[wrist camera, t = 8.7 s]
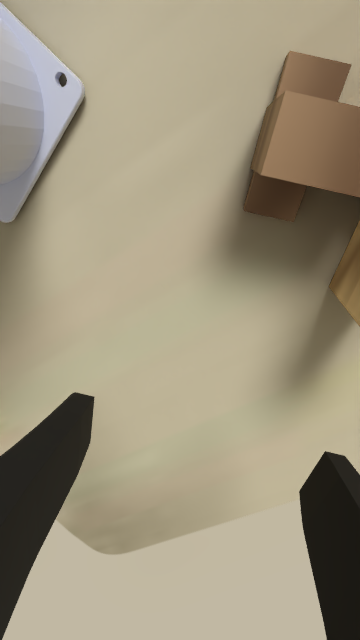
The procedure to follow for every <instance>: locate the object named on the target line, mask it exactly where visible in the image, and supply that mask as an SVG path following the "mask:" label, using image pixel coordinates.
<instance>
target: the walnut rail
mask: <svg viewBox="0 0 360 640" xmlns="http://www.w3.org/2000/svg"><path fill="white" fill-rule="evenodd" d="M350 67H351V64H347V63H342V62H338V61H333V60H329V59H324V58H320V57H315V56H311V55H306V54H302V53H297V52H293V51H290V52H289V53H288V55H287V56H286V59H285V63H284V66H283V70H282V73H281V77H280V80H279V84H278V87H277V91H276V94H275V98H274V102H272V103H271V104H270V105H269V106H268V107H267V109H266V113H265V116H264V120H263V124H262V127H261V131H260V135H259V138H258V142H257V145H256V149H255V153H254V156H253V160H252V163H251V167H250V168H251V169H253V170H254V172H253V176H252V179H251V183H250V186H249V190H248V193H247V197H246V200H245V204H244V207H243V209H244V211H247V212H251V213H256V214H260V215H264V216H269V217H273V218H278V219H282V220H286V221H291V222H294V220H295V217H296V215H297V212H298V209H299V206H300V204H301V201H302V198H303V196H304V193H305V190H306V187H307V186H312V187H316V188H321V189H325V190H329V191H334V192H338V193H343V194H347V195H351V196H356V197H360V107H357V106H353V105H349V104H344V103H340V102H338V100H339V97H340V95H341V92H342V89H343V86H344V84H345V81H346V78H347V75H348V73H349V70H350Z"/></svg>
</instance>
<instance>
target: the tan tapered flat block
mask: <svg viewBox="0 0 360 640" xmlns="http://www.w3.org/2000/svg"><path fill="white" fill-rule="evenodd" d="M329 287H330V289H331V290H332V291H333V293H334V294H335V295H336V297H337V298H338V299H339V300H340V302H341V303H342V304H343V306H344V307H345V308H346V309H347V311H348V312H349V313H350V315H351V316H352V317H353V318H354V320H355V321H356V322H357V324H358V325H359V326H360V220H359V223H358V225H357V227H356V229H355V231H354V233H353V235H352V238H351V240H350V242H349V244H348V246H347V248H346V251H345V253H344V255H343V257H342V259H341V261H340V263H339V266H338V268H337V270H336V272H335V274H334V276H333V279H332V281H331V283H330V285H329Z"/></svg>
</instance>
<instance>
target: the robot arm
mask: <svg viewBox="0 0 360 640" xmlns="http://www.w3.org/2000/svg"><path fill="white" fill-rule="evenodd" d="M62 74H65V75H66V77H67V83H66V85H65V86H64V87H62V86H61V85H60V82H59V78H60V76H61V75H62ZM84 95H85V88H84V85H83V83H82V82H81V80H80V79H79V78H78V77H77V76H76V75H75V74H74V73H73V72H72V71H71V70H70V69H69V68H68V67H67V66H66V65H65V64H64V63H63V62H62V61H61V60H60V59H59V58H57V57H56V56H55V55H54V54H53V53H52V52H51V51H50V50H49V49H48V48H47V47H46V46H45V45H44V44H43V43H42V42H41V41H40V40H39V39H38V38H37V37H36V36H35V35H34V34H33V33H32V32H31V31H30V30H29V29H28V28H27V27H26V26H25V25H24V24H23V23H22V22H21V21H20V20H18V19H17V18H16V17H15V16H14V15H13V14H12V13H11V12H10V11H9V10H8V9H7V8H6V7H5V6H4V5H3V4H2V3H1V2H0V221H2V222H4V223H8V222H11V221H13V220H14V219H15V218H16V216H17V214H18V213H19V211H20V209H21V207H22V206H23V204H24V202H25V200H26V199H27V197H28V195H29V193H30V192H31V190H32V188H33V186H34V185H35V183H36V181H37V179H38V178H39V176H40V174H41V172H42V171H43V169H44V167H45V165H46V163H47V162H48V160H49V158H50V156H51V155H52V153H53V151H54V149H55V148H56V146H57V144H58V142H59V141H60V139H61V137H62V135H63V134H64V132H65V130H66V128H67V127H68V125H69V123H70V121H71V120H72V118H73V116H74V114H75V113H76V111H77V109H78V107H79V106H80V104H81V102H82V100H83V98H84ZM93 406H94V397H93V396H88V395H84V394H80V393H76V392H75V393H73V394H71V395H70V396H69V397H68V398H67V399H66V400H65V401H64V402H63V403H62V404H61V405H60V406H59V407H58V408H56V409H55V410H54V411H53V412H52V413H51V414H50V415H49V416H48V417H47V418H45V419H44V420H43V421H42V422H41V423H40V424H39V425H38V426H36V427H35V428H34V429H33V430H32V431H31V432H29V433H28V434H27V435H26V436H25V437H23V438H22V439H21V440H20V441H19V442H18V443H16V444H15V445H14V446H13V447H11V448H10V449H9V450H8V451H6V452H5V453H4V454H2V455H1V456H0V640H2V638H3V635H4V633H5V630H6V628H7V626H8V623H9V621H10V618H11V616H12V613H13V611H14V608H15V606H16V603H17V601H18V599H19V596H20V594H21V591H22V589H23V587H24V584H25V581H26V579H27V577H28V574H29V572H30V570H31V568H32V566H33V563H34V561H35V559H36V557H37V555H38V553H39V551H40V549H41V547H42V545H43V542H44V541H45V539H46V537H47V535H48V533H49V531H50V529H51V527H52V525H53V523H54V521H55V519H56V517H57V515H58V513H59V511H60V509H61V507H62V505H63V503H64V501H65V499H66V497H67V495H68V493H69V491H70V489H71V487H72V485H73V483H74V481H75V479H76V477H77V475H78V473H79V470H80V468H81V465H82V462H83V460H84V457H85V455H86V452H87V449H88V447H89V444H90V439H91V428H92V417H93ZM299 493H300V505H301V514H302V523H303V530H304V535H305V540H306V544H307V549H308V554H309V558H310V563H311V567H312V572H313V576H314V580H315V585H316V590H317V593H318V599H319V603H320V608H321V612H322V616H323V621H324V626H325V631H326V636H327V640H360V475H359V473H358V472H357V471H356V469H355V468H354V467H353V466H352V464H351V463H350V462H349V461H348V459H347V458H346V457H345V456H343V455H339V454H334V453H330V452H326V451H325V452H324V454H323V455H322V457H321V459H320V460H319V462H318V463H317V465H316V466H315V468H314V469H313V471H312V472H311V474H310V476H309V477H308V479H307V480H306V482H305V483H304V485H303V486H302V488H301V489H300V491H299Z"/></svg>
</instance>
